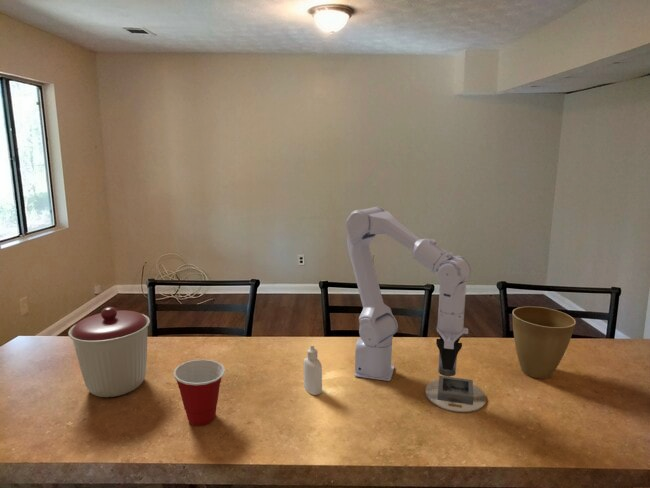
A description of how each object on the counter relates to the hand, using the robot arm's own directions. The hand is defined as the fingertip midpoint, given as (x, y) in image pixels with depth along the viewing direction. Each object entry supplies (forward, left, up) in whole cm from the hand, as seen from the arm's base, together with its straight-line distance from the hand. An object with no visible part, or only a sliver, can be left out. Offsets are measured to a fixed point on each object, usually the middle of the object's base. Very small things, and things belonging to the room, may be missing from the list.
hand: (448, 364), depth 106 cm
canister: (-80, -17, -9) cm, 82 cm away
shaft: (0, 0, -2) cm, 2 cm away
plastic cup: (-52, -23, -9) cm, 58 cm away
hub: (+2, +2, -9) cm, 9 cm away
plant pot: (+23, +20, -9) cm, 32 cm away
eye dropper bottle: (-32, -5, -9) cm, 34 cm away
